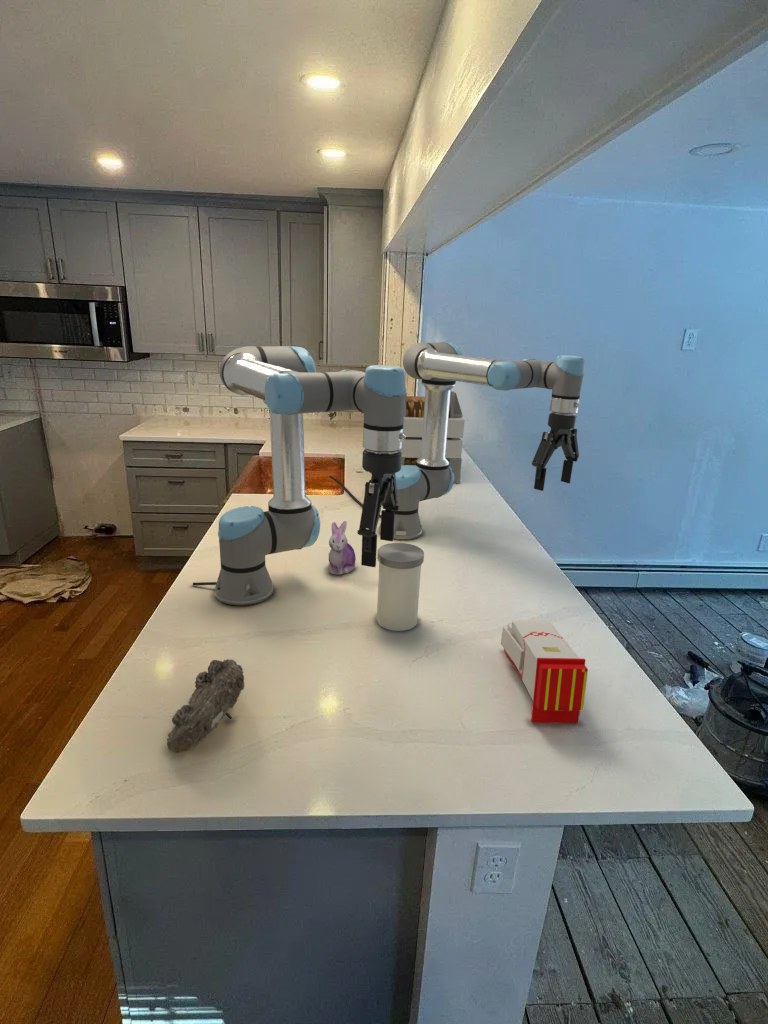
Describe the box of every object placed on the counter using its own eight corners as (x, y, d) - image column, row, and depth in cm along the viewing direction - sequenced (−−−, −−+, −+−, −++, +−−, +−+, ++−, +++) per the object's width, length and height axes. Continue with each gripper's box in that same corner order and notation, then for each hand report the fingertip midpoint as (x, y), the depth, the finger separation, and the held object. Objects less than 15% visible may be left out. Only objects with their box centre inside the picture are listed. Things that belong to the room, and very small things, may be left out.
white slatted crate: (382, 463, 289) (386, 382, 275) (445, 464, 293) (451, 384, 279) (390, 482, 257) (394, 392, 243) (460, 483, 261) (468, 394, 247)
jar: (368, 616, 146) (371, 550, 139) (401, 606, 151) (405, 542, 145) (392, 635, 138) (396, 565, 132) (425, 623, 144) (430, 556, 137)
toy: (547, 606, 135) (596, 665, 106) (541, 658, 138) (589, 729, 108) (496, 604, 134) (532, 664, 105) (492, 657, 137) (526, 729, 108)
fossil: (192, 660, 117) (244, 628, 112) (224, 691, 120) (276, 661, 115) (142, 746, 98) (202, 712, 93) (182, 779, 101) (242, 748, 96)
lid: (368, 555, 140) (368, 548, 139) (405, 546, 146) (405, 539, 146) (395, 573, 131) (395, 565, 131) (433, 562, 138) (433, 555, 137)
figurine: (333, 578, 165) (334, 530, 160) (320, 564, 173) (320, 518, 168) (362, 573, 169) (364, 526, 164) (348, 559, 177) (349, 514, 172)
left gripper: (384, 468, 95) (379, 581, 103) (415, 438, 118) (409, 533, 125) (342, 463, 97) (340, 574, 104) (380, 435, 120) (377, 528, 127)
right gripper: (548, 419, 148) (537, 496, 155) (598, 411, 163) (586, 482, 171) (525, 414, 153) (515, 489, 160) (575, 407, 169) (564, 476, 176)
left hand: (378, 552), depth 115 cm, fingers open, 13 cm apart
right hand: (552, 485), depth 166 cm, fingers open, 13 cm apart
